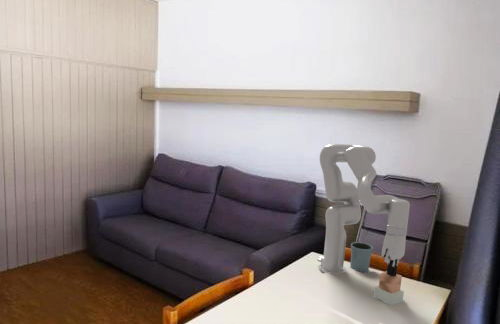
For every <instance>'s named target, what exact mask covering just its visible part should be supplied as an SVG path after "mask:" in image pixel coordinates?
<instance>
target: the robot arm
mask: <svg viewBox="0 0 500 324" xmlns="http://www.w3.org/2000/svg"><path fill="white" fill-rule="evenodd" d="M319 154H320V155H319V164H320V167H321V170H322V175H323V182H324V189H325V196H326V199H327V200H328V201H329V202H330V203H343V204H335V205H331V206H329V207H328V208H327V209H326V211H325V214H324V215H325V236H324V237H325V239H324V248H323V249H324V250H323V256H321V255H320V256H318V258H317V259H316V260H317V262H319V263H320V264H319V267H318V268H319V271H320V272H322V273H324V274H327V273H331V274H343V273H345V272H347V269H346V267H345V266H344V265H345V264H344V263H345V254H346V253H345V252H346V245H347V243H346V242H347V231H346V230H345V227H344V226H348V225H350V226H351V225H355V224H358V223H359V222H360V221H361V218H362V210H361V205H362V206H363V208H364V209H365V211H366V212H367V213H369V214H370V215H381V214H385V215H386V214H387V222H386V223H387V224H386V231H385V235H384V239H383V242H382V248H381V249H382V250H381V258H384V261H383V262H384V263H386V264H387V265H386V266H387V268H386V271H387V274H388V275H391V276H396V274H397V271H398V266H399V262H400V260H401V259H402V258H403V257H404V256H405V252H406V244H407V243H406V242H407V241H406V240H407V238H406V237H407V233H408V232H407V231H408V224H409V216H410V208H411V203H410V201H408V200H406V199H404V198H403V199H401V198H398V197H396V196H394V195H391V194H378V195H375V194H374V192H373V191H372V189H371V186H370V182H371V181H373V180H374V179H375V178H376V176H377V170H376V169H375V167H374V166H373V164H374V163H375V162H376V159H377V155H376V152H375V150H374V149H373V148H371V147H370V146H362V145H357V144H341V143H340V144H339V143H332V144H328V145H325V146H324V147H323V148H322V149H321V151H320V153H319ZM337 163H347V165H348V167H349V168H350V170H351V171H352V174H354V176H355V178H356V180H357V186H356V185H355V184H354V182H352V181H344V180H343V176H342V175H343V174H342V171H341V169H340V167H339V165H337ZM360 203H361V204H360Z"/></svg>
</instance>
